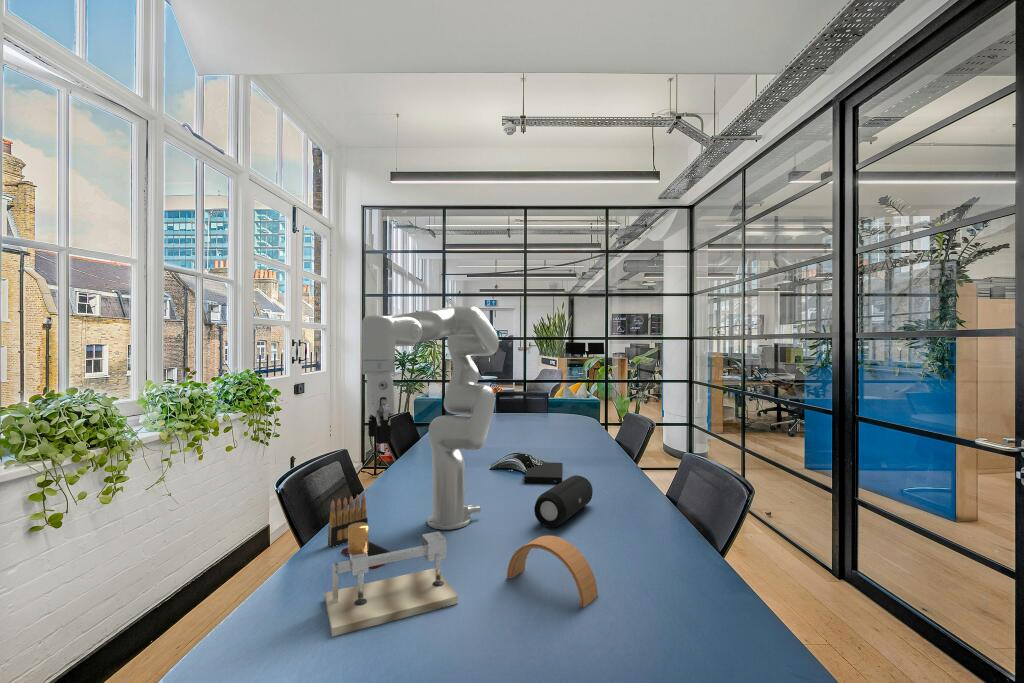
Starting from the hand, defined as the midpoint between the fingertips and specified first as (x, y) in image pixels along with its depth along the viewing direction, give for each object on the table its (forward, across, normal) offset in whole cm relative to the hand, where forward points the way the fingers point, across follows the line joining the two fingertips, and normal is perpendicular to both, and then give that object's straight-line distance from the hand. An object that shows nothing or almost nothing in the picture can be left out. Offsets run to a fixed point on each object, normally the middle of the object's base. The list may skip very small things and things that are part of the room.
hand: (379, 439), depth 113 cm
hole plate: (+30, -16, +1) cm, 35 cm away
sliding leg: (+28, -15, +7) cm, 33 cm away
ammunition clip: (+31, +20, +4) cm, 37 cm away
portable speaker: (+31, +9, -58) cm, 66 cm away
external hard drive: (+31, +51, -75) cm, 95 cm away
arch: (+31, -26, -31) cm, 51 cm away
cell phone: (+31, +8, +1) cm, 32 cm away
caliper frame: (+29, -14, 0) cm, 32 cm away
